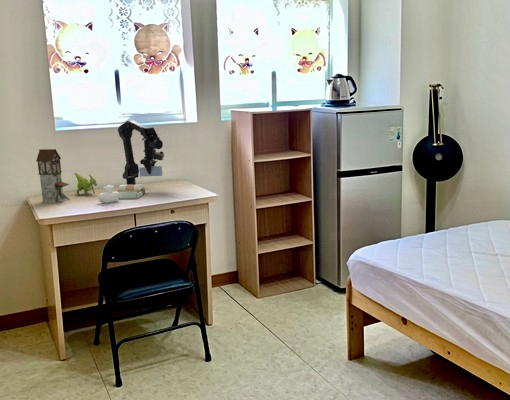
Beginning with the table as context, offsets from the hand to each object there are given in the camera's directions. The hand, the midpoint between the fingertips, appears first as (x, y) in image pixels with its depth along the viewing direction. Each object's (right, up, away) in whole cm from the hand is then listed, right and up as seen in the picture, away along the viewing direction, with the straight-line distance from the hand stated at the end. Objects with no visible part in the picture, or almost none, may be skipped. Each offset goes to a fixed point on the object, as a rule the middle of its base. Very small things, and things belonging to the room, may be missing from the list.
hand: (150, 173), depth 335 cm
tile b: (-11, -10, -4) cm, 15 cm away
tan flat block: (-11, -12, -3) cm, 17 cm away
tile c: (-7, -10, -4) cm, 13 cm away
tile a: (-16, -10, -3) cm, 19 cm away
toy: (-40, -13, +2) cm, 42 cm away
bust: (-18, -18, -25) cm, 36 cm away
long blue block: (0, -1, 0) cm, 1 cm away
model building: (-51, -17, -16) cm, 56 cm away
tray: (-12, -14, -12) cm, 22 cm away
